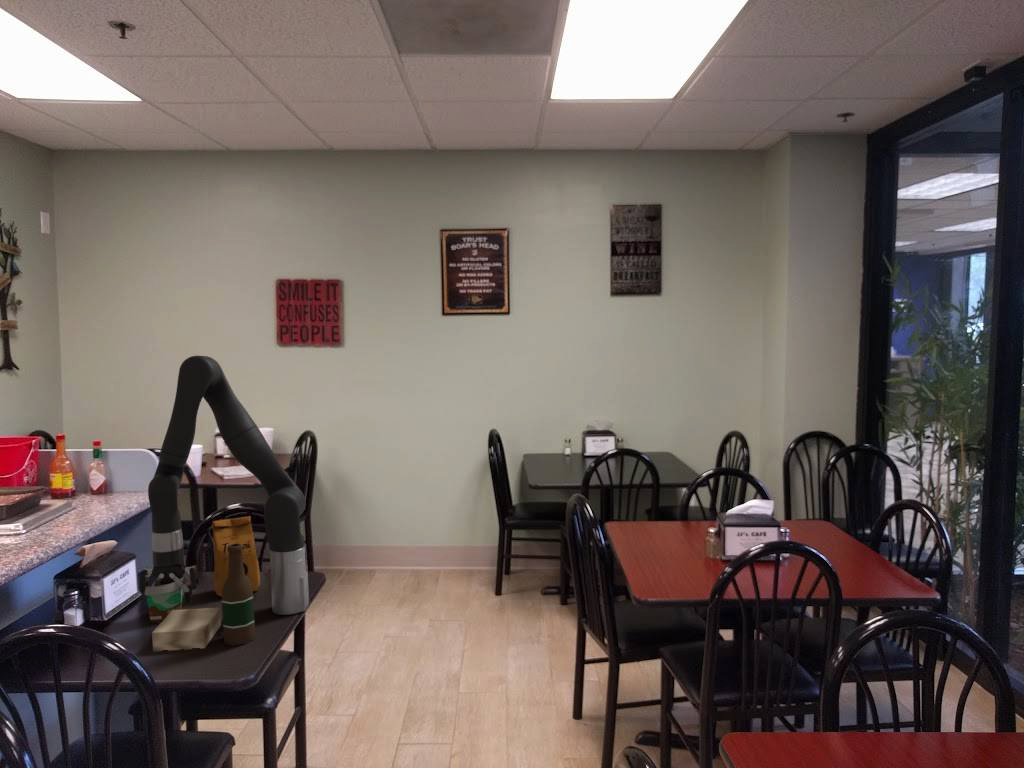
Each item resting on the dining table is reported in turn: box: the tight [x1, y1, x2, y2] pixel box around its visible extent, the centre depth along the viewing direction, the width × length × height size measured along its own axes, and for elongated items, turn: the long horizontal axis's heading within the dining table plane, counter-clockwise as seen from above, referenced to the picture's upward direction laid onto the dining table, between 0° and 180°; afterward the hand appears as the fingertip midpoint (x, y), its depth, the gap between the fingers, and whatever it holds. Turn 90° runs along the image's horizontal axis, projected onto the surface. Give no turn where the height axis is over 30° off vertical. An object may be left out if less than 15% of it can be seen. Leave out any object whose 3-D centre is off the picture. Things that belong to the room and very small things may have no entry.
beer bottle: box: [221, 543, 256, 647], centre depth 183 cm, size 8×8×24 cm
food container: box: [144, 578, 184, 623], centre depth 199 cm, size 12×6×10 cm, turn 168°
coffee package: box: [211, 515, 261, 597], centre depth 216 cm, size 10×12×22 cm
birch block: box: [151, 607, 222, 652], centre depth 185 cm, size 12×14×5 cm
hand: (171, 605), depth 199 cm, fingers open, 8 cm apart
